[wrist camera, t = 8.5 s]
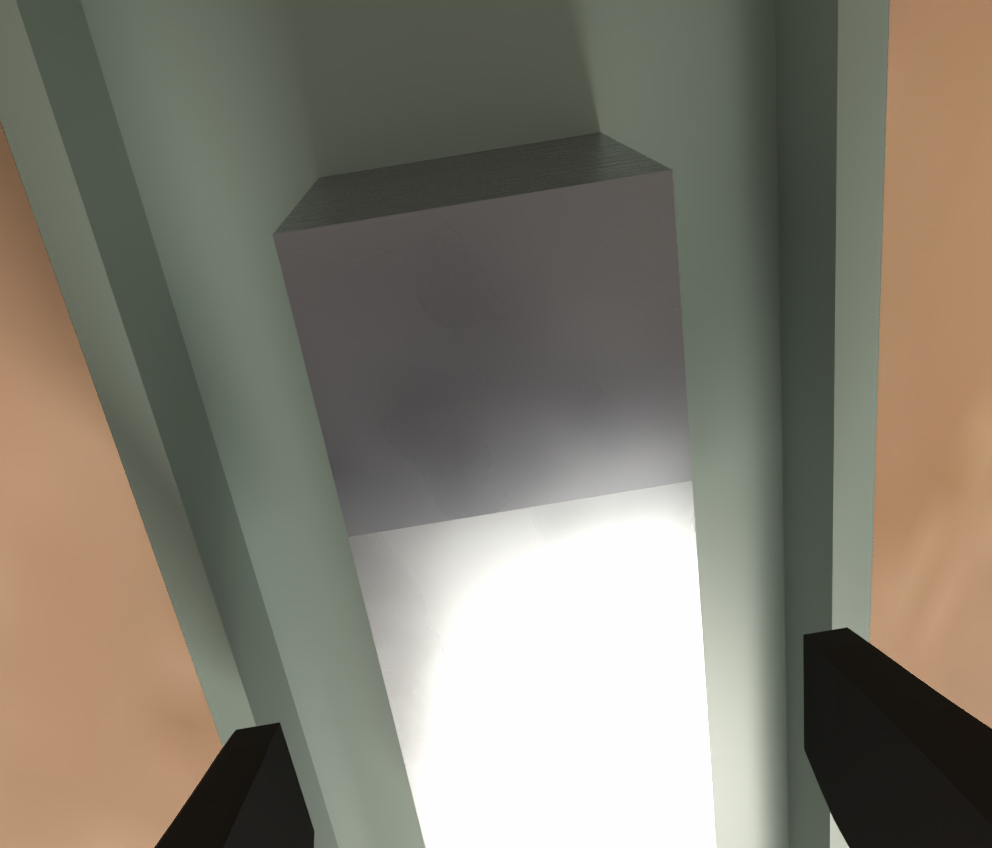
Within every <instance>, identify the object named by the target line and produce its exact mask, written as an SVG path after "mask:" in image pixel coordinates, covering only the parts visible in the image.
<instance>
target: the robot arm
mask: <svg viewBox="0 0 992 848" xmlns="http://www.w3.org/2000/svg"><path fill="white" fill-rule="evenodd" d="M803 676H804V750H805V753H806V755H807V758H808V760H809V762H810V765H811V767H812V770H813V772H814V775H815V777H816V780H817V782H818V784H819V787H820V789H821V792H822V794H823V796H824V798H825V801H826V803H827V805H828V808H829V810H830V812H831V814H832V817H833V819H834V821H835V823H836V825H837V827H838V828H839V830H840V832H841V834H842V836H843V837H844V839H845V841H846V843H847V845H848V846H849V848H992V729H991V728H990V727H988V726H987V725H985V724H984V723H982V722H981V721H979V720H978V719H976V718H975V717H973V716H972V715H970V714H969V713H967V712H966V711H964V710H963V709H961V708H960V707H958V706H957V705H955V704H954V703H952V702H951V701H950V700H948V699H947V698H945V697H944V696H942V695H941V694H940V693H938V692H937V691H935V690H934V689H932V688H931V687H930V686H928V685H927V684H925V683H924V682H923V681H921V680H920V679H918V678H917V677H916V676H914V675H913V674H911V673H910V672H909V671H907V670H906V669H904V668H903V667H902V666H900V665H899V664H898V663H896V662H895V661H893V660H892V659H891V658H889V657H888V656H887V655H885V654H884V653H882V652H881V651H880V650H878V649H877V648H876V647H874V646H873V645H871V644H870V643H869V642H867V641H866V640H865V639H863V638H862V637H860V636H859V635H858V634H856V633H855V632H853V631H852V630H851V629H849V628H848V627H846V628H840V629H834V630H828V631H822V632H816V633H810V634H804V635H803ZM314 834H315V831H314V828H313V825H312V822H311V819H310V816H309V812H308V809H307V806H306V803H305V800H304V797H303V793H302V790H301V787H300V784H299V781H298V778H297V774H296V771H295V768H294V765H293V762H292V759H291V756H290V752H289V749H288V746H287V743H286V740H285V737H284V733H283V730H282V727H281V724H280V722H279V723H273V724H267V725H261V726H255V727H249V728H243V729H237V730H235V731H234V733H233V734H232V735H231V737H230V738H229V739H228V741H227V742H226V744H225V745H224V747H223V748H222V750H221V751H220V752H219V754H218V755H217V757H216V758H215V760H214V761H213V763H212V764H211V766H210V767H209V769H208V770H207V772H206V773H205V775H204V776H203V778H202V779H201V781H200V782H199V784H198V785H197V787H196V788H195V790H194V791H193V793H192V794H191V796H190V797H189V799H188V800H187V802H186V803H185V805H184V806H183V808H182V809H181V811H180V812H179V813H178V815H177V816H176V818H175V819H174V821H173V822H172V824H171V825H170V826H169V828H168V829H167V831H166V832H165V833H164V835H163V836H162V838H161V839H160V840H159V842H158V843H157V845H156V846H155V848H314Z"/></svg>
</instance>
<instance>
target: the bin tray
mask: <svg viewBox="0 0 992 848" xmlns="http://www.w3.org/2000/svg"><path fill="white" fill-rule="evenodd" d="M889 7H890V0H0V121H1V124H2V127H3V130H4V133H5V135H6V138H7V141H8V144H9V147H10V149H11V152H12V155H13V158H14V161H15V163H16V166H17V169H18V172H19V175H20V177H21V180H22V183H23V186H24V189H25V192H26V194H27V197H28V200H29V203H30V206H31V208H32V211H33V214H34V217H35V220H36V222H37V225H38V228H39V231H40V234H41V237H42V239H43V242H44V245H45V248H46V251H47V253H48V256H49V259H50V262H51V265H52V267H53V270H54V273H55V276H56V279H57V282H58V284H59V287H60V290H61V293H62V296H63V298H64V301H65V304H66V307H67V310H68V312H69V315H70V318H71V321H72V324H73V327H74V329H75V332H76V335H77V338H78V341H79V343H80V346H81V349H82V352H83V355H84V357H85V360H86V363H87V366H88V369H89V371H90V374H91V377H92V380H93V383H94V386H95V388H96V391H97V394H98V397H99V400H100V402H101V405H102V408H103V411H104V414H105V416H106V419H107V422H108V425H109V428H110V431H111V433H112V436H113V439H114V442H115V445H116V447H117V450H118V453H119V456H120V459H121V461H122V464H123V467H124V470H125V473H126V476H127V478H128V481H129V484H130V487H131V490H132V492H133V495H134V498H135V501H136V504H137V506H138V509H139V512H140V515H141V518H142V521H143V523H144V526H145V529H146V532H147V535H148V537H149V540H150V543H151V546H152V549H153V551H154V554H155V557H156V560H157V563H158V565H159V568H160V571H161V574H162V577H163V580H164V582H165V585H166V588H167V591H168V594H169V596H170V599H171V602H172V605H173V608H174V610H175V613H176V616H177V619H178V622H179V625H180V627H181V630H182V633H183V636H184V639H185V641H186V644H187V647H188V650H189V653H190V655H191V658H192V661H193V664H194V667H195V670H196V672H197V675H198V678H199V681H200V684H201V686H202V689H203V692H204V695H205V698H206V700H207V703H208V706H209V709H210V712H211V714H212V717H213V720H214V723H215V726H216V729H217V731H218V734H219V737H220V740H221V743H222V745H223V747H224V745H225V744H226V742H227V741H228V739H229V738H230V737H231V735H232V734H233V733H234V731H235V730H237V729H243V728H249V727H255V726H261V725H267V724H273V723H279V722H280V724H281V727H282V730H283V733H284V737H285V740H286V743H287V746H288V749H289V752H290V756H291V759H292V762H293V765H294V768H295V771H296V774H297V778H298V781H299V784H300V787H301V790H302V793H303V797H304V800H305V803H306V806H307V809H308V812H309V816H310V819H311V822H312V825H313V828H314V831H315V834H314V848H426V847H425V843H424V839H423V835H422V831H421V827H420V823H419V819H418V815H417V811H416V807H415V803H414V799H413V795H412V791H411V787H410V783H409V779H408V775H407V771H406V767H405V763H404V759H403V755H402V751H401V747H400V743H399V739H398V735H397V731H396V727H395V723H394V719H393V715H392V711H391V707H390V703H389V699H388V695H387V691H386V687H385V683H384V679H383V675H382V671H381V667H380V663H379V659H378V655H377V651H376V647H375V643H374V639H373V635H372V631H371V627H370V623H369V619H368V615H367V611H366V607H365V603H364V599H363V595H362V591H361V587H360V583H359V579H358V575H357V571H356V567H355V563H354V559H353V555H352V551H351V547H350V543H349V539H348V535H347V531H346V527H345V523H344V519H343V515H342V511H341V507H340V503H339V499H338V495H337V491H336V487H335V483H334V479H333V475H332V471H331V467H330V463H329V459H328V455H327V451H326V447H325V443H324V439H323V435H322V431H321V427H320V423H319V419H318V415H317V411H316V407H315V403H314V399H313V395H312V391H311V387H310V383H309V379H308V375H307V371H306V367H305V363H304V359H303V354H302V350H301V346H300V342H299V338H298V334H297V330H296V326H295V322H294V318H293V314H292V310H291V306H290V302H289V298H288V294H287V290H286V286H285V282H284V278H283V274H282V270H281V266H280V262H279V258H278V254H277V250H276V246H275V242H274V238H273V233H274V232H275V231H276V230H277V228H278V227H279V226H280V225H281V224H282V222H283V221H284V220H285V219H286V217H287V216H288V215H289V214H290V212H291V211H292V210H293V209H294V208H295V206H296V205H297V204H298V203H299V201H300V200H301V199H302V198H303V196H304V195H305V194H306V193H307V192H308V190H309V189H310V188H311V187H312V185H313V184H314V183H315V182H316V180H317V179H318V178H320V177H326V176H332V175H338V174H345V173H351V172H357V171H363V170H369V169H376V168H382V167H388V166H394V165H400V164H406V163H413V162H419V161H425V160H431V159H437V158H444V157H450V156H456V155H462V154H468V153H475V152H481V151H487V150H493V149H499V148H505V147H512V146H518V145H524V144H530V143H536V142H543V141H549V140H555V139H561V138H567V137H573V136H580V135H586V134H592V133H598V132H601V133H603V134H605V135H607V136H609V137H611V138H613V139H614V140H616V141H618V142H620V143H622V144H624V145H626V146H628V147H630V148H632V149H634V150H636V151H637V152H639V153H641V154H643V155H645V156H647V157H649V158H651V159H653V160H655V161H657V162H659V163H661V164H662V165H664V166H666V167H668V168H670V169H672V170H673V185H674V201H675V217H676V232H677V248H678V264H679V279H680V295H681V311H682V326H683V342H684V358H685V373H686V389H687V405H688V420H689V436H690V452H691V468H692V483H693V499H694V515H695V530H696V546H697V562H698V577H699V593H700V609H701V624H702V640H703V656H704V671H705V687H706V703H707V718H708V734H709V750H710V766H711V781H712V797H713V813H714V828H715V844H716V848H849V846H848V845H847V843H846V841H845V839H844V837H843V836H842V834H841V832H840V830H839V828H838V827H837V825H836V823H835V821H834V819H833V817H832V814H831V812H830V810H829V808H828V805H827V803H826V801H825V798H824V796H823V794H822V792H821V789H820V787H819V784H818V782H817V780H816V777H815V775H814V772H813V770H812V767H811V765H810V762H809V760H808V758H807V755H806V753H805V750H804V676H803V635H804V634H810V633H816V632H822V631H828V630H834V629H840V628H846V627H848V628H849V629H851V630H852V631H853V632H855V633H856V634H858V635H859V636H860V637H862V638H863V639H865V640H866V641H867V642H869V643H870V615H871V583H872V551H873V519H874V487H875V455H876V423H877V391H878V359H879V327H880V295H881V263H882V231H883V199H884V167H885V135H886V103H887V71H888V39H889Z"/></svg>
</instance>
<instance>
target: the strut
mask: <svg viewBox="0 0 992 848" xmlns="http://www.w3.org/2000/svg"><path fill="white" fill-rule="evenodd" d="M273 238H274V242H275V246H276V250H277V254H278V258H279V262H280V266H281V270H282V274H283V278H284V282H285V286H286V290H287V294H288V298H289V302H290V306H291V310H292V314H293V318H294V322H295V326H296V330H297V334H298V338H299V342H300V346H301V350H302V354H303V359H304V363H305V367H306V371H307V375H308V379H309V383H310V387H311V391H312V395H313V399H314V403H315V407H316V411H317V415H318V419H319V423H320V427H321V431H322V435H323V439H324V443H325V447H326V451H327V455H328V459H329V463H330V467H331V471H332V475H333V479H334V483H335V487H336V491H337V495H338V499H339V503H340V507H341V511H342V515H343V519H344V523H345V527H346V531H347V535H348V539H349V543H350V547H351V551H352V555H353V559H354V563H355V567H356V571H357V575H358V579H359V583H360V587H361V591H362V595H363V599H364V603H365V607H366V611H367V615H368V619H369V623H370V627H371V631H372V635H373V639H374V643H375V647H376V651H377V655H378V659H379V663H380V667H381V671H382V675H383V679H384V683H385V687H386V691H387V695H388V699H389V703H390V707H391V711H392V715H393V719H394V723H395V727H396V731H397V735H398V739H399V743H400V747H401V751H402V755H403V759H404V763H405V767H406V771H407V775H408V779H409V783H410V787H411V791H412V795H413V799H414V803H415V807H416V811H417V815H418V819H419V823H420V827H421V831H422V835H423V839H424V843H425V847H426V848H716V844H715V828H714V813H713V797H712V781H711V766H710V750H709V734H708V718H707V703H706V687H705V671H704V656H703V640H702V624H701V609H700V593H699V577H698V562H697V546H696V530H695V515H694V499H693V483H692V468H691V452H690V436H689V420H688V405H687V389H686V373H685V358H684V342H683V326H682V311H681V295H680V279H679V264H678V248H677V232H676V217H675V201H674V185H673V170H672V169H670V168H668V167H666V166H664V165H662V164H661V163H659V162H657V161H655V160H653V159H651V158H649V157H647V156H645V155H643V154H641V153H639V152H637V151H636V150H634V149H632V148H630V147H628V146H626V145H624V144H622V143H620V142H618V141H616V140H614V139H613V138H611V137H609V136H607V135H605V134H603V133H601V132H598V133H592V134H586V135H580V136H573V137H567V138H561V139H555V140H549V141H543V142H536V143H530V144H524V145H518V146H512V147H505V148H499V149H493V150H487V151H481V152H475V153H468V154H462V155H456V156H450V157H444V158H437V159H431V160H425V161H419V162H413V163H406V164H400V165H394V166H388V167H382V168H376V169H369V170H363V171H357V172H351V173H345V174H338V175H332V176H326V177H320V178H318V179H317V180H316V182H315V183H314V184H313V185H312V187H311V188H310V189H309V190H308V192H307V193H306V194H305V195H304V196H303V198H302V199H301V200H300V201H299V203H298V204H297V205H296V206H295V208H294V209H293V210H292V211H291V212H290V214H289V215H288V216H287V217H286V219H285V220H284V221H283V222H282V224H281V225H280V226H279V227H278V228H277V230H276V231H275V232H274V233H273Z"/></svg>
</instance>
